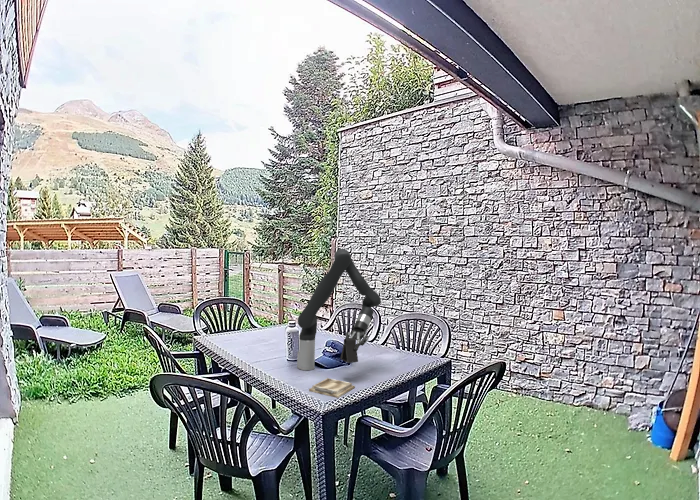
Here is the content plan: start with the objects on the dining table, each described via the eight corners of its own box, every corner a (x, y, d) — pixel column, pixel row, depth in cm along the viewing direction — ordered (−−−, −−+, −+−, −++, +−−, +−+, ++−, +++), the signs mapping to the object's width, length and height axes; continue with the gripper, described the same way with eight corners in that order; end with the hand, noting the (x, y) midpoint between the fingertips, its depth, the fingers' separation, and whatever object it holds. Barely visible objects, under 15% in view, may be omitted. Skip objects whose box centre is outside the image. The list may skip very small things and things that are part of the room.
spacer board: (308, 391, 227) (309, 386, 227) (326, 381, 242) (327, 377, 242) (338, 397, 219) (338, 392, 219) (354, 387, 233) (355, 383, 233)
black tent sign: (358, 362, 242) (359, 339, 242) (348, 363, 239) (349, 340, 239) (349, 357, 250) (350, 336, 249) (340, 358, 247) (341, 337, 246)
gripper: (348, 318, 255) (337, 344, 245) (371, 321, 248) (360, 348, 238) (353, 326, 260) (341, 351, 250) (375, 329, 253) (364, 356, 243)
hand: (351, 350), depth 244 cm, fingers closed on black tent sign, 4 cm apart
